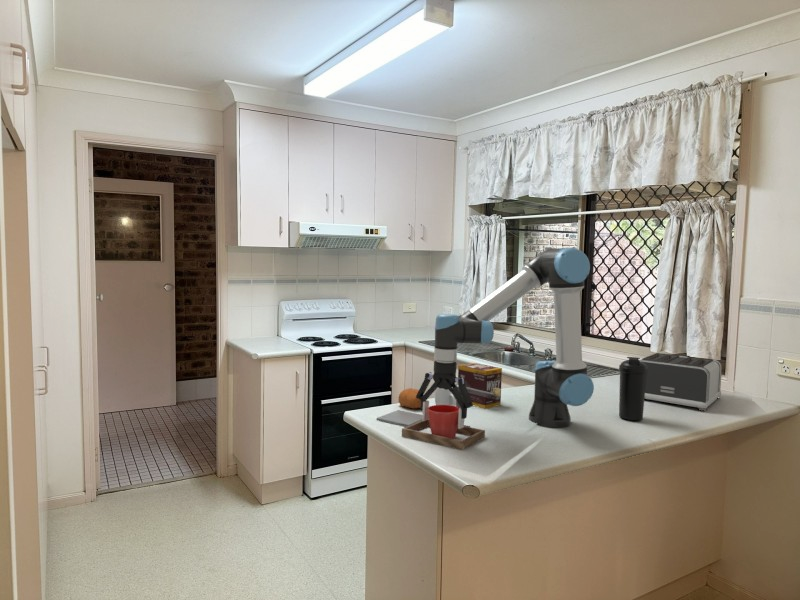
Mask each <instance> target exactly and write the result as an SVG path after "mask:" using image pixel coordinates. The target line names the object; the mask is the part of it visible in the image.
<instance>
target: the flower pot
mask: <svg viewBox="0 0 800 600" xmlns="http://www.w3.org/2000/svg"><path fill="white" fill-rule="evenodd" d="M459 409H460V408H459V407H456V406H452V405H436V404H434V405H429V407H428V416H429V423H430V427H429V428H430V434H434V435H438V436H443V437H447V438H452V439H456V434H457V433H456V431H457V426H458V418H459Z"/></svg>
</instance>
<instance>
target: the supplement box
mask: <svg viewBox="0 0 800 600" xmlns="http://www.w3.org/2000/svg"><path fill="white" fill-rule="evenodd" d="M457 368H458V369H457V378H462V377H464V378H465V385H466V387H469V388H473V389H477V390H482V391H486V392H490V393H493V390H494V388H500V389H501V390H502V380H503V379H502V378H503V377H502V375H503V374H502V373H503V368H502V367H497V366H492V365H488V364H482V363H477V362H472V363H465V364H459V365H458V367H457ZM469 396H470V398H471V401H472V404H473V406H475V407H477V408H479V409H480V408H481V409H483V410H485V409H490V408H493V407H498V406H501V404H502V396H501V397H500V399H498V400H495V399H491V398H487V397H483V396H479V395H475V394H471V393H469Z"/></svg>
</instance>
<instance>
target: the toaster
mask: <svg viewBox="0 0 800 600" xmlns="http://www.w3.org/2000/svg"><path fill="white" fill-rule="evenodd" d="M639 360H640V361H641V362H643V363H644V364H645V365H646V366H647V368H648V372H647V374H646V386H645V398H644V400H645V399H646V400H651V401H657V402H662V403H663V402H664V403H670V404H676V405H682V406H687V407H694V408H698V409H699V410H698V409H697V410H698V411H700V410H706V409H707V408H708V407H709V406H710V405H712V404H713V403H714V402H716V401H717V400H718V399H717V398H718V397H721V395H722V391H721V388H722V387H721V385H722V367H723V366H722V364H721V362H720V361H719V360H717V359H711V358H704V357H698V356H697V357H696V356H695V357H694V356H685V355H679V354H668V353H660V352H656V353H653V354H651V355H649V356H645V357H643V358H640V359H639Z"/></svg>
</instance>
